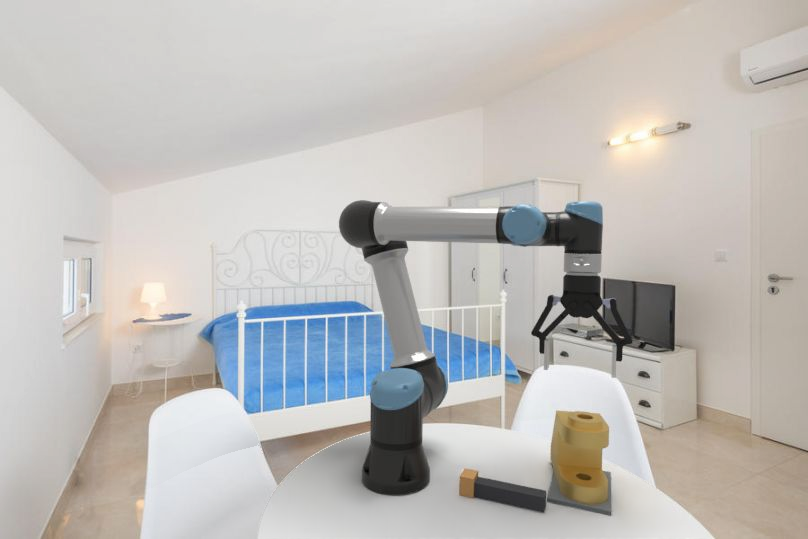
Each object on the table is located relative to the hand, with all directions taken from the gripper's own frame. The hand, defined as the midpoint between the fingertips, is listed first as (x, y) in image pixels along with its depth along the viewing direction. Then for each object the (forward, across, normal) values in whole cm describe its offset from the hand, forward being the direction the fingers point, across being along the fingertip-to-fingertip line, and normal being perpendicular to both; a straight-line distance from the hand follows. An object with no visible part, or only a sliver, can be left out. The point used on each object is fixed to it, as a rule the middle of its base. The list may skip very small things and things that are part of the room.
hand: (578, 372), depth 99 cm
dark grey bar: (+25, -13, -12) cm, 31 cm away
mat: (+25, +1, 0) cm, 25 cm away
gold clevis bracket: (+24, 0, +1) cm, 24 cm away
